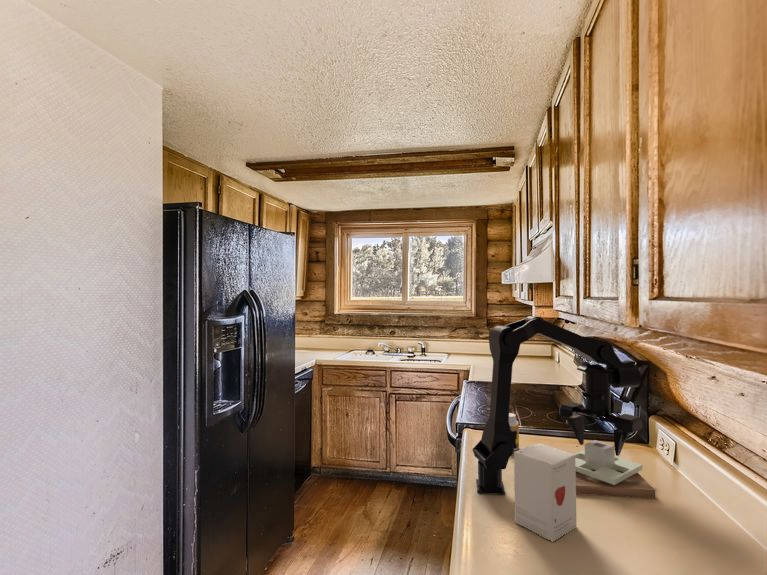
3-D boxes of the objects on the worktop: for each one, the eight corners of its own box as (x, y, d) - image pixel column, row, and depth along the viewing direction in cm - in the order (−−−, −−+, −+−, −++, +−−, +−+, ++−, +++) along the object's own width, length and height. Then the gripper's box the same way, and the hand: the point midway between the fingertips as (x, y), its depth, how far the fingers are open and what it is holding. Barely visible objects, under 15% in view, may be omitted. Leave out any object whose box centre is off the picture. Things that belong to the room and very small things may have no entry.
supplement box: (553, 544, 79) (551, 465, 79) (513, 523, 86) (512, 451, 86) (578, 527, 84) (576, 453, 84) (539, 509, 92) (537, 441, 92)
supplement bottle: (501, 450, 126) (501, 417, 126) (499, 444, 131) (498, 411, 131) (520, 451, 125) (520, 417, 125) (517, 444, 130) (516, 412, 130)
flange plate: (642, 469, 104) (641, 446, 104) (614, 485, 96) (613, 460, 96) (587, 452, 115) (587, 432, 116) (558, 465, 107) (558, 443, 108)
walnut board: (655, 498, 95) (654, 468, 95) (572, 493, 98) (571, 463, 98) (624, 466, 113) (623, 440, 113) (554, 462, 116) (554, 437, 116)
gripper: (652, 390, 103) (653, 453, 103) (580, 378, 118) (581, 433, 118) (630, 397, 97) (632, 464, 96) (557, 384, 112) (558, 441, 112)
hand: (599, 449), depth 106 cm, fingers open, 9 cm apart
